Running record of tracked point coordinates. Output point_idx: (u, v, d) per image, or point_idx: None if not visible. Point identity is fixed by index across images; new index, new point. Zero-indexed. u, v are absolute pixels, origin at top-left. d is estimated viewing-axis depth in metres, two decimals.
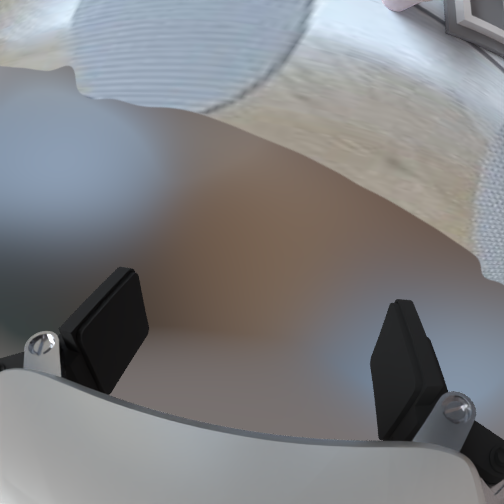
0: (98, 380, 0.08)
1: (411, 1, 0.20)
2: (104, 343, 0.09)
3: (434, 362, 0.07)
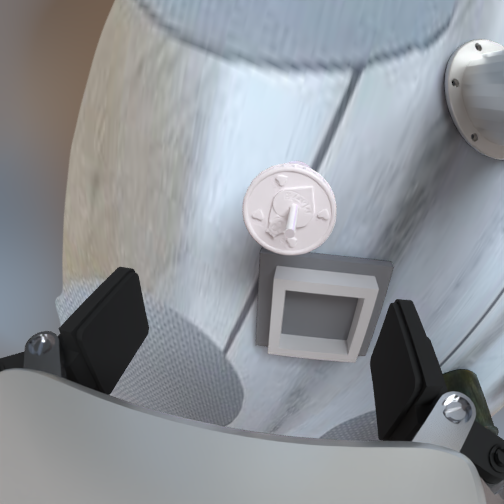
0: (98, 380, 0.08)
1: None
2: (104, 343, 0.09)
3: (434, 362, 0.07)
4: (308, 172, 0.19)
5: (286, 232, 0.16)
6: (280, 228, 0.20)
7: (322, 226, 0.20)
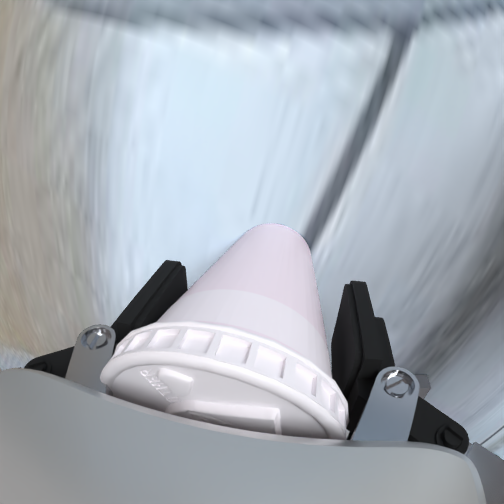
0: None
1: None
2: None
3: (377, 337, 0.08)
4: (262, 379, 0.05)
5: None
6: None
7: None
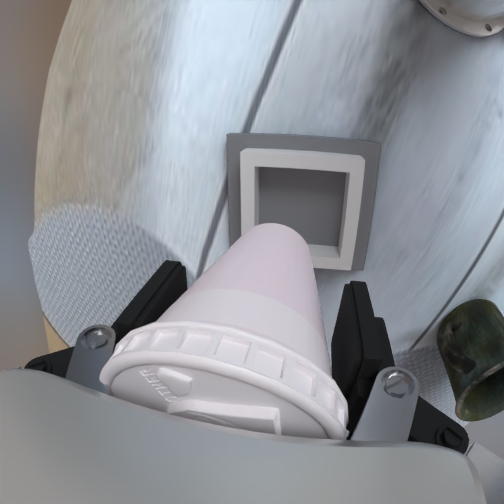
0: None
1: None
2: None
3: (377, 337, 0.08)
4: (261, 378, 0.05)
5: None
6: None
7: None
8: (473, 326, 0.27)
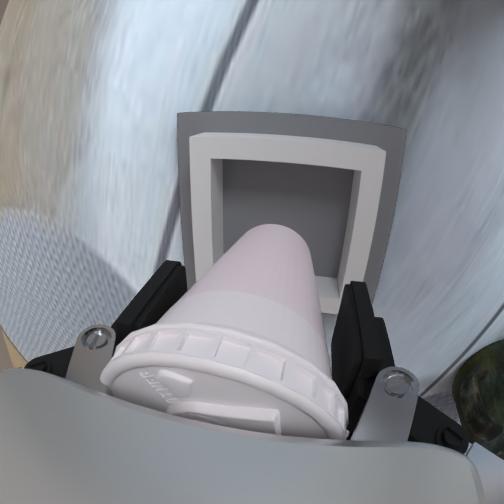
0: None
1: None
2: None
3: (377, 337, 0.08)
4: (261, 380, 0.05)
5: None
6: None
7: None
8: (502, 378, 0.18)
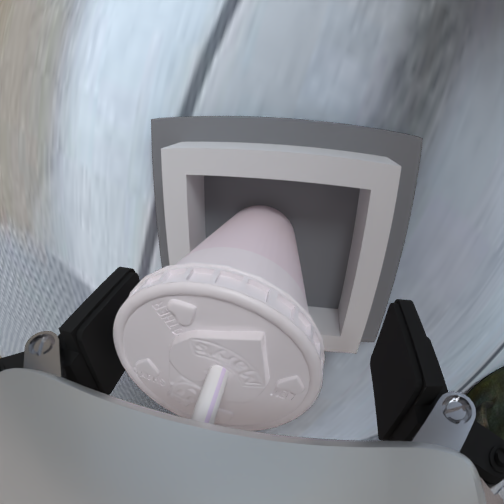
0: (98, 380, 0.08)
1: None
2: (104, 343, 0.09)
3: (434, 362, 0.07)
4: (251, 301, 0.07)
5: None
6: (194, 398, 0.09)
7: (288, 401, 0.08)
8: None
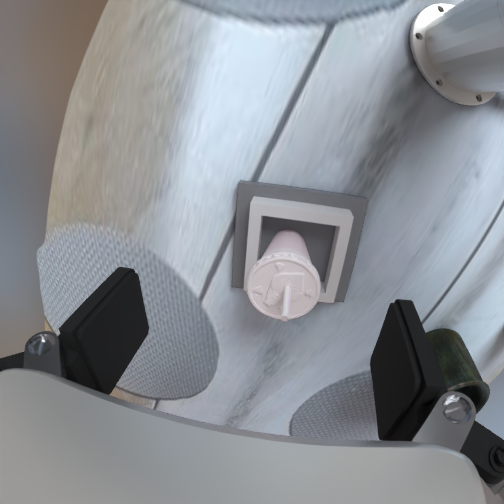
0: (98, 380, 0.08)
1: None
2: (104, 343, 0.09)
3: (434, 362, 0.07)
4: (301, 262, 0.24)
5: (282, 317, 0.22)
6: (275, 301, 0.26)
7: (308, 301, 0.26)
8: (436, 352, 0.34)
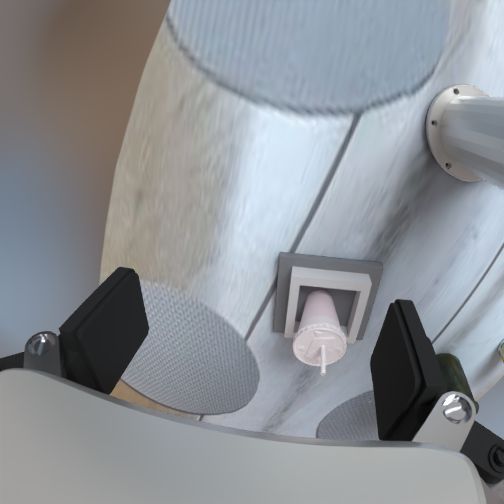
0: (98, 380, 0.08)
1: None
2: (104, 343, 0.09)
3: (434, 362, 0.07)
4: (333, 331, 0.32)
5: (321, 373, 0.29)
6: (313, 355, 0.34)
7: (337, 354, 0.34)
8: None
